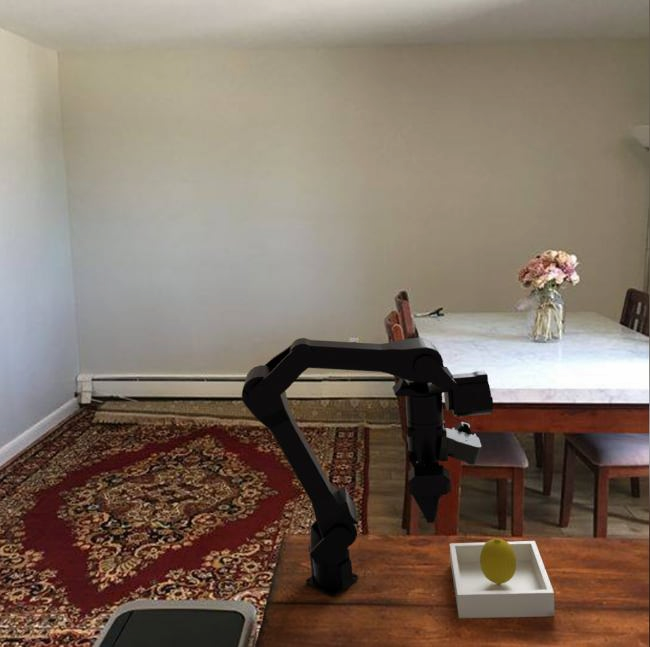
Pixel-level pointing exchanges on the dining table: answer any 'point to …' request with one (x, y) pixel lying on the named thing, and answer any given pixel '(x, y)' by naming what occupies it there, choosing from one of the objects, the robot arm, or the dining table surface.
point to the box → (506, 598)
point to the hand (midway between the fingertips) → (429, 507)
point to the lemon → (498, 561)
